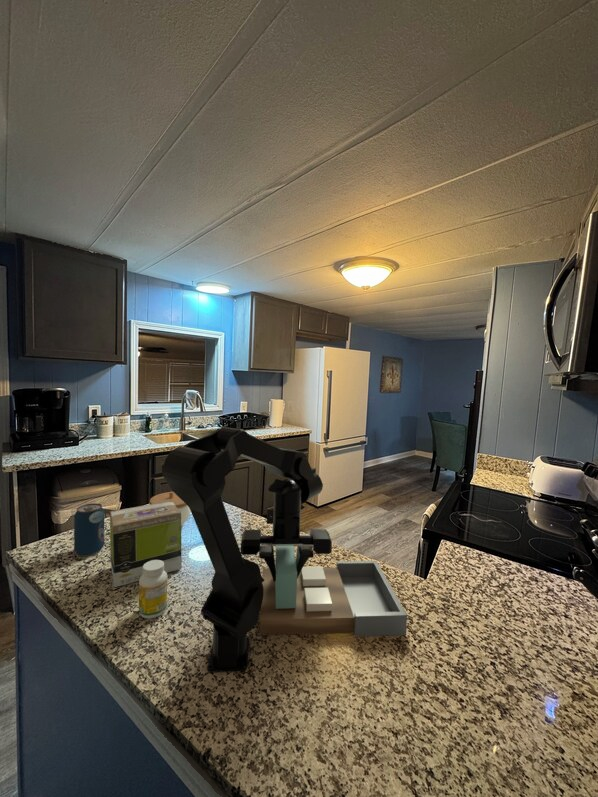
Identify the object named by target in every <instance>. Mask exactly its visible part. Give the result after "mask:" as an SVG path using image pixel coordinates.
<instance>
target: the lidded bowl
mask: <svg viewBox="0 0 598 797" xmlns="http://www.w3.org/2000/svg"><path fill="white" fill-rule="evenodd" d="M166 501H173V503H174V504H175V506H176V507H177V509H178V510H179V511H180V513H181V528H183V526H184V524H185V523H187V521H188V520H189V517H190V515H191V510H190V508H189V507H188V505H187V504H185V503H184V502H183V501H182V500H181V499H180V498H179V497H178V496H177V495H176V494H175V493H174V492H173V491H168V492H162V493H159V494H156V495H154V496H151V498H150V499H149V505H150V504H155V503H161V502H166Z"/></svg>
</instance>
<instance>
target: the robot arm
mask: <svg viewBox="0 0 598 797" xmlns="http://www.w3.org/2000/svg"><path fill="white" fill-rule="evenodd" d="M239 457H241V458H245V459H247V460H250V461H253V462H256V463H259V464H261V465H263V466H264V467H265V469H266V470H267V471H268V472H270V474H273V475H274V476H279V477H283V478H286V479H282V480H281V479H278V478H277V479H274V481H273V482H272V484H270V485H269V486H268V488H267V491H268V492H270V493H273V508H267V509H266V524H267V525H271V524H272V535H262V530H261V529H245V530H244V531H243V532H242V534H241V540H240V547H239V545H238V542H237V538H236V535H235V532H234V531H233V530H234V529H233V527H232V525H231V521H230V519H229V515H228V513H227V510H226V508H225V504H224V501H223V498H222V495H223V492H224V489H225V486H226V476H228V475H229V474H230V473H231V472H232V471H234V469H235V467H236V465H237V461H238V459H239ZM316 471H317V470H316V467H311V465H310V463H309V460H308V455H307V454H306V453H305V452H304V451H298V450H293V449H286V448H282V447H278V446H275V445H273V444H271V443H269V442H266V441H265V440H262V439H260V438H258V437H256V436H253V435H252V434H250V433H248V432H247V431H245V430H244V429H243V428H242V429H241V428H234V427H228V426H224V427H220V428H218V429H217V430H216V431H213V432H212V433H211V434H208V435H205V436H202V437H199V438H197V439H195V440H194V439H193V440H191V441H189V442H187V443H186V444H185V445H183V446H178V447H176V448H174V449H172V450H171V451H170V452H169V453H168V454H167V456H166V458H165V460H164V462H163V464H162V465H161V473H162V476H163V479H164V480H165V482H166V483H167V485H168V486H169V488H170V489H171V492H174V493H175V494H176V495H177V496H178V497H179V498H180V499H181V500H182V501H183V502H184V503H185V504H187V505H188V507H189V508H190V510H191V512H190V514H191V515H192V517H193V520H194V523H195V525H196V527H197V530H198V533H199V535H200V537H201V539H202V541H203V545H204V547H205V550H206V552H207V554H208V557H209V559H210V562H211V565H212V567H213V570H214V574H213V576H212V579H211V587H212V589H211V591H210V593H209V594H208V595H207V598H206V600H205V602H204V604H203V606H202V607H201V610H200V614H201V615H202V619H203V620H205V621H208V622H210V623H211V624H212V625H213V626H212V627H213V628H212V645H211V649H210V655H209V658H208V663H207V668H206V669H207V670H206V671H207V672H209V673H211V672H212V673H213V672H214V673H215V672H235V671H237V672H239V671H247V669H248V663H249V652H250V641H251V640H250V638H249V637H247V634H248V633H249V632H250V631H251V630H253V628H255V626H257V625H258V624H259V623H258V622H259V620H260V610H261V605H262V601H263V592H264V589H263V584H262V582H264V579H263V578H262V574H261V568H260V566H259V564H258V563H256V562H255V561H254V562H253V561H251V560H249V559H246V558H244V557H243V556H256V555H258V558H259V559H263V560H264V561H265V563H266V566H267V567H268V568H269V569H270V572H271V575H272V578H273V580H274V581H276V568H275V551H274V550H275V549H274V547H276V546H294V547H295V546H296V555H295V561H296V568H297V578H298V576H299V574H300V572H301V570H302V568H303V567H305V564H306V563H307V562H308V560H309V559H310V558H314V553H315V554H317V555H330V554H332V551H333V550H332V549H333V542H332V539H331V536H330V533H329V531H328V530H327V529H326V528H323V529H321V528H320V529H317V528H316V529H315V528H314V529H310V531H309V534H301V516H302V515H301V511H302V503H306V502H308V501H309V500H311V499H312V498H315V497H316V496H318V495H320V493H321V492H322V491H323V487H324V483H323V480H322V478H321V477H320V475H318V474H317V473H316ZM258 553H259V554H258Z"/></svg>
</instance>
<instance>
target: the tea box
mask: <svg viewBox="0 0 598 797" xmlns="http://www.w3.org/2000/svg"><path fill="white" fill-rule="evenodd" d="M109 527H110V528H109V531H110V532H109V536H110V541H109V542H110V547H109V548H110V549H109V552H110V567H111V573H112V582H113V587H114V588H118V587H121V586H124V585H128V584H132V583H135V582H139V579H140V577H141V576H142V575H143V565H144V564H145V563H147V562H149V561H152V560H161V561H163V562H164V571H165V572H166V573H167V574H168V573H170V572H175V571H179V570H181V569H182V566H183V565H182V563H183V562H182V527H181V513H180V511H179V510H178V509H177V507H176V506H175V504H174V503H173V501H166V502H161V503H155V504H150V503H149V504H145V505H139V506H135V507H134V506H133V507H129V508H123V509H118V510H117V509H116V510H111V511H109Z"/></svg>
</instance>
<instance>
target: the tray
mask: <svg viewBox="0 0 598 797" xmlns="http://www.w3.org/2000/svg"><path fill="white" fill-rule="evenodd" d="M336 567H337V568H338V571H339V574H340V577H341V580H342V583H343V586H344V589H345V592H346V595H347V598H348V601H349V603H350V606H351V609H352V612H353V615H354V633H353V635H354V637H358V638H359V637H382V636H384V637H385V636H386V637H387V636H407V626H408V625H407V624H408V614H407V612H406V610H405V609H404V607H403V605H402V603H401V601H400V600H399V598H398V597H397V595H396V593H395V591H394V589H393V587H392V586H391V584H390V582H389V581H388V578H387V577H386V575H385V573H384V572H383V570H382V568H381V566H380V564H379V562H378V561H377V560H345V561H344V560H338V561H337V560H336Z"/></svg>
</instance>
